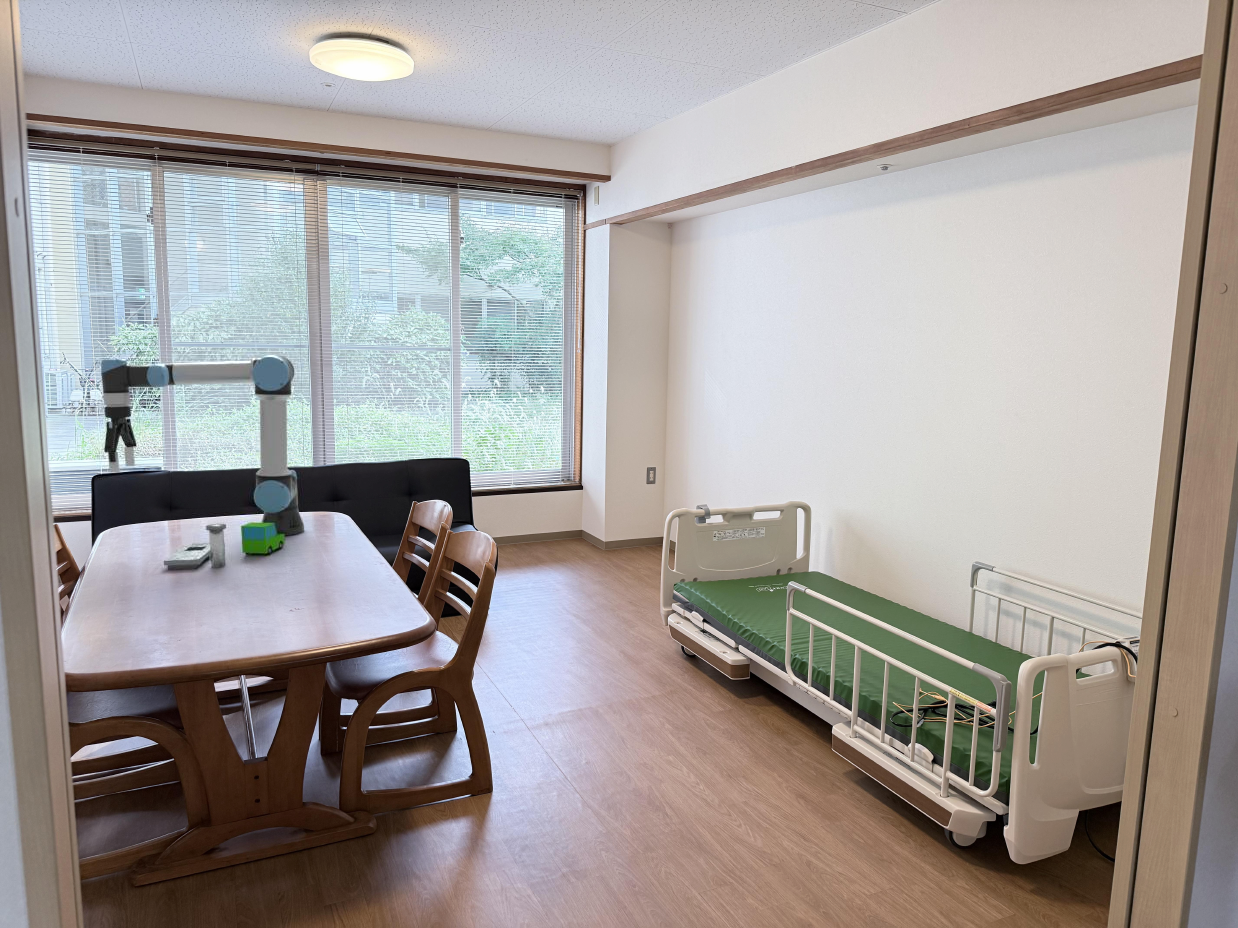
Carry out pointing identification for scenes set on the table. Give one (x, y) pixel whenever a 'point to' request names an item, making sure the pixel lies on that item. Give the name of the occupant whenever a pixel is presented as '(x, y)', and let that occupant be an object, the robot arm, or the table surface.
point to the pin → (217, 545)
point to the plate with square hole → (189, 556)
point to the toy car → (261, 538)
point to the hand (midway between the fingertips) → (122, 469)
